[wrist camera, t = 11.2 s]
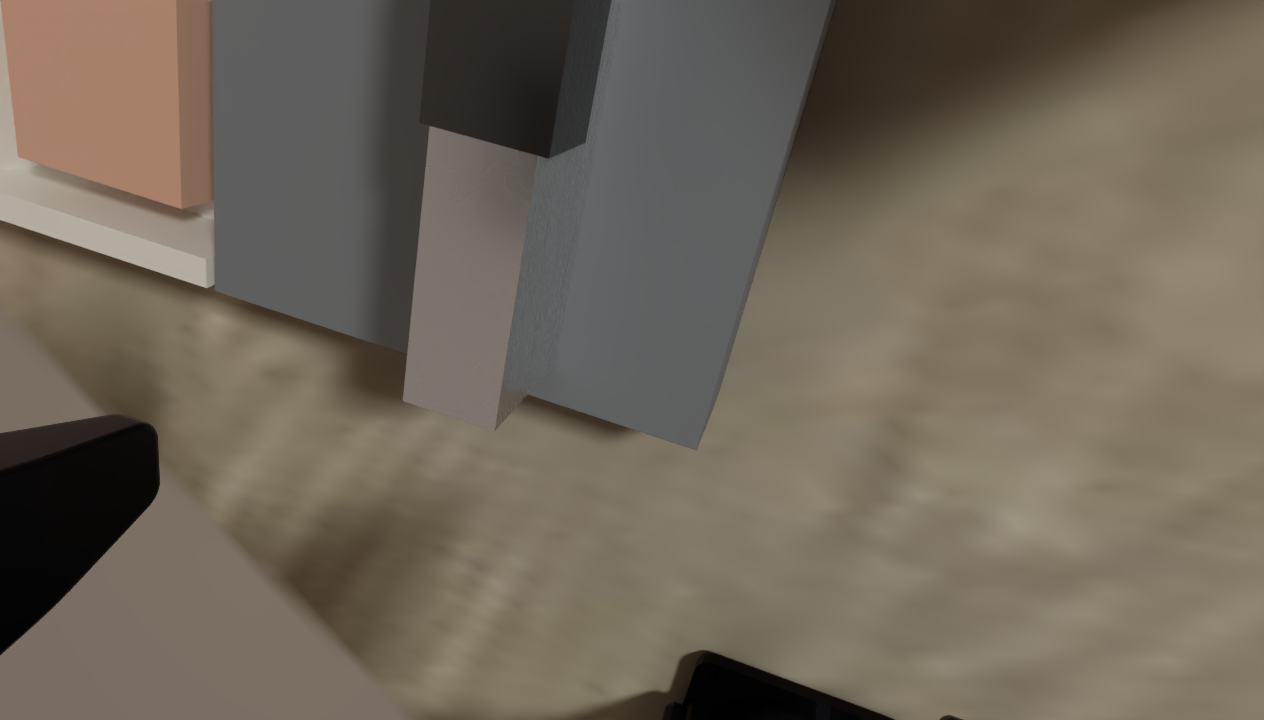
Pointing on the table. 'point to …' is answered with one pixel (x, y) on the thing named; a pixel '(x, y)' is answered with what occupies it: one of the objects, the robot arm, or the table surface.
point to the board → (615, 203)
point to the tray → (101, 210)
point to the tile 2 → (116, 92)
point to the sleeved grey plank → (502, 194)
